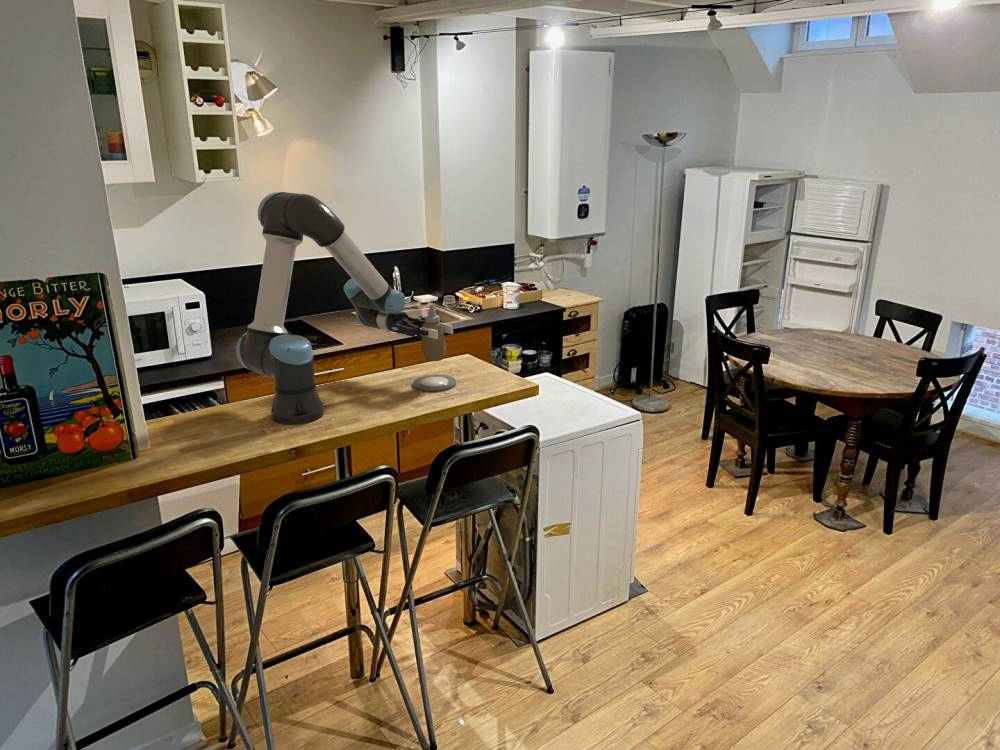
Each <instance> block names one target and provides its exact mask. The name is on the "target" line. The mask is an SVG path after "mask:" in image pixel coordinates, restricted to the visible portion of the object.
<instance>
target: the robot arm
mask: <svg viewBox="0 0 1000 750" xmlns="http://www.w3.org/2000/svg"><path fill="white" fill-rule="evenodd" d="M259 203H260V204H259V205H258V208H257V218H258V219H257V220H258V221H259V223H260V225H261V227H262V232H261V235H262V236H263V238H264V240H265V242H266V244H265V248H264V249H265V250H264V253H263V254H264V255H263V261H262V268H261V275H260V280H259V287H258V292H257V299H256V303H255V304H256V306H255V311H254V317H253V318H254V319H253V321H252V322H251V323H250V324H248V325H247V328H246V332H245V333H244V334H242V336H241V337H239V339H238V341H237V343H236V349H235V350H236V351H235V352H236V357H237V360H238V361H239V363H240V364H241V365H242V366H243V368H245V369H246V370H247V369H248V370H249V371H250V372H253V373H254V374H260V375H264V376H267V377H270V378H273V386H274V396H273V400H272V404H271V410H270V416H271V421H273V422H274V423H276V424H279V425H285V426H286V425H290V426H291V425H293V426H294V425H303V424H304V425H305V424H308V423H311V422H313V421H314V422H315V421H317V420H319V419H320V418H322V417H323V416H324V414H325V406H324V404H323V402H322V400H321V397H320V395H319V393H318V390H317V388H316V376H315V365H314V351H313V347H312V343H311V342H310V340H309V339H308V338H306V337H304V336H301V335H298V334H294V335H293V334H288V331H287V329H286V327H285V326H284V324H285V318H286V314H287V313H286V311H287V306H288V300H289V294H290V287H291V282H292V281H291V280H292V275H293V269H294V261H295V258H296V257H295V256H296V252H297V251H296V250H297V247H298V246H300V245H301V244H302V243H303V240H304V236H305V237H307V238H309V239H311V240H312V241H314V242H315V243H316V244H317V245H318V246H319V247H320V248H325V249H326V250H327V251H328V252H329V254H330V256H332V257H333V258H334V259H335V261H336V262H337V263H338V265H340V267H342V269H343V270H344V271H345V272H346V273H347V274H348V276H349V277H350V279H348V280H347V282H346V283H345V284H343V285H344V286H343V292H344V293H345V295H346V297H347V299H348V300H349V301H350V303H351V304H352V306H353V307H354V308H355V319H356V321H357V323H359V325H362V326H365V327H367V328H374V329H378V330H382V331H386V332H387V333H389V332H391V333H394V334H402V335H405V336H409V337H412V338H415V337H416V338H417V339H422V336H425V337H429V338H434V339H438V330H434V329H430V328H425V327H423V324H424V323H425V316H422V315H420V316H418V317H413V316H409V315H408V314H407V312H405V311H403V309H404V308H405V305H406V297H405V294H404V293H403V292H402V291H401V290H398V289H393V288H392V286H390V285H389V284H388V282H387V281H386V280H385V279H384V277H383V276H382V275H381V273H380V272H379V271H378V270H377V268H375V267H374V265H373V264H372V263H371V261H370V260H369V259H368V258H367V256H366V255H365V253H363V251H362V250H361V249H360V248H359V247H358V245H357V244H355V242H354V241H353V240H352V238H351V237H350V236H349V235H348V233H347V232H346V226H345V224H344V223H343V222H342V220H341V219H340V218H339V217H338V216H337V215H336V214H335V213H334V211H333V210H332V209H331V208H330V207H328V206H327V205H326V204H325V203H324V202H323V201H322V200H320V199H319V198H317V197H315V196H313V195H311V194H306V193H294V192H286V191H279V192H276V191H275V192H272V193H269V194H268V195H266V196H265V197H263V198H262V200H261V201H260V202H259ZM439 322H441V323H442V324H443V329H444V334H450V335H452V334H453V335H454V326H453V324H450V323H449V324H448V323H443V320H442V319H440V321H439Z"/></svg>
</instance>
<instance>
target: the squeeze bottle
mask: <svg viewBox="0 0 1000 750" xmlns="http://www.w3.org/2000/svg"><path fill="white" fill-rule="evenodd" d="M436 313H437V312H436V309H435V305H434V304H430V305H429V309H428V313H427V315H425V316H424V317H425V323H424V324H423V327H425V328H430V329H434V330H438V339H434V338H429V337H425V336H421V347H420V348H421V349H420V350H421V352H422V355H423V357H424V359H425V360H426V361H427V362H441V361H442V360H444V358H445V355H446V350H447V345H446V338H445V337H446V336H445V332H444V329H443V324H442V323H443V322H442V323H441V322H439V321H440V320H441V318H440V315H439V314H436Z"/></svg>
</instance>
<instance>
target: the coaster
mask: <svg viewBox="0 0 1000 750" xmlns="http://www.w3.org/2000/svg"><path fill="white" fill-rule="evenodd" d="M412 383H413V388H414V389H416V390H418V391H422V392H428V393H430V392H431V393H436V392H437V393H438V392H444V391H449V390H451V389H453V388H455V387H456V386H457V380H456V378H455V377H454V376H451V375H445V374H429V375H422V376H419V377H417V378H415V379H414V380H413V382H412Z"/></svg>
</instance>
